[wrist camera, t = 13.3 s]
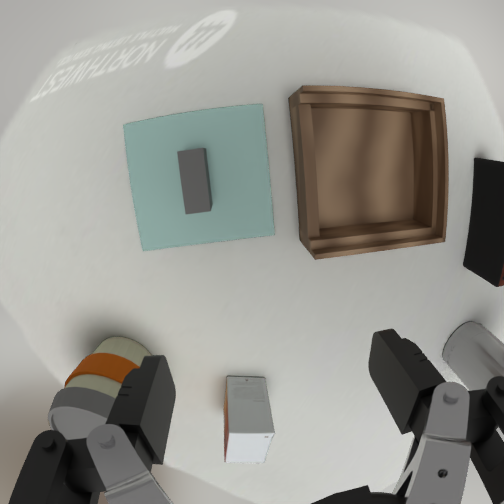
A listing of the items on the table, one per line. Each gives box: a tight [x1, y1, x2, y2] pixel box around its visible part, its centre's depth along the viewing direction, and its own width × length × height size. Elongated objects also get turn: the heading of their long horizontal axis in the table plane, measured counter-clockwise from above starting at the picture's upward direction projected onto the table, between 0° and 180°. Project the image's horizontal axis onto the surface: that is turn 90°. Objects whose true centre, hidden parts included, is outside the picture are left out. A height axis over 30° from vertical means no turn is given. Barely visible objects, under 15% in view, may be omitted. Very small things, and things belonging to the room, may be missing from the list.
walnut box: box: [289, 86, 448, 260], centre depth 28 cm, size 16×16×6 cm
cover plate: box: [123, 104, 275, 251], centre depth 29 cm, size 15×14×5 cm
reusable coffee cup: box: [48, 337, 152, 440], centre depth 31 cm, size 13×13×15 cm
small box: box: [224, 376, 275, 463], centre depth 36 cm, size 8×6×10 cm
